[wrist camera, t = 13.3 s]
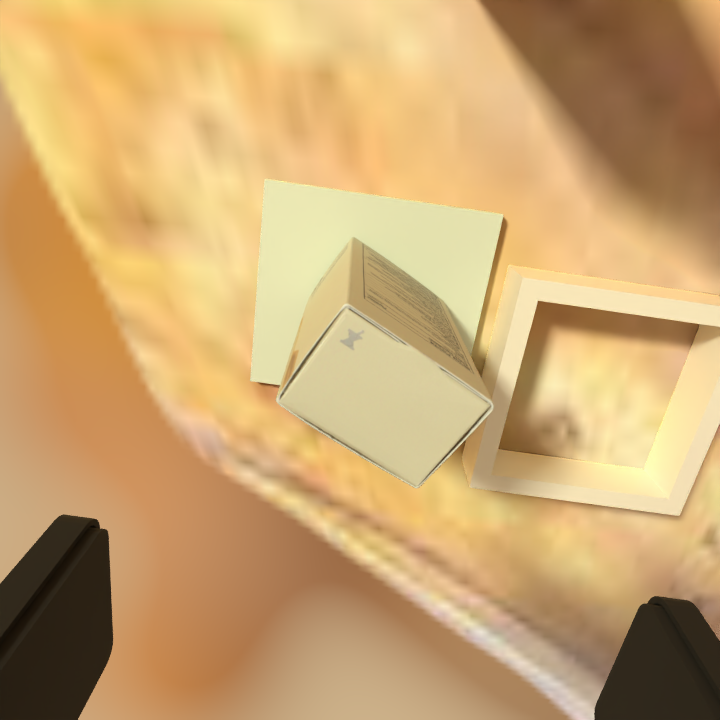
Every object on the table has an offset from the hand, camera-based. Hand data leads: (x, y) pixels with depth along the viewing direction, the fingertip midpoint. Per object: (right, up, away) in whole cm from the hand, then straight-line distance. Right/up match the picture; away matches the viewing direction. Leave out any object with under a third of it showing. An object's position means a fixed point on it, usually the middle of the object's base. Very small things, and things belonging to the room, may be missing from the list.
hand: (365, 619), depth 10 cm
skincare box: (+1, +8, +20) cm, 21 cm away
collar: (+13, +3, +22) cm, 25 cm away
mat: (0, +8, +20) cm, 22 cm away
